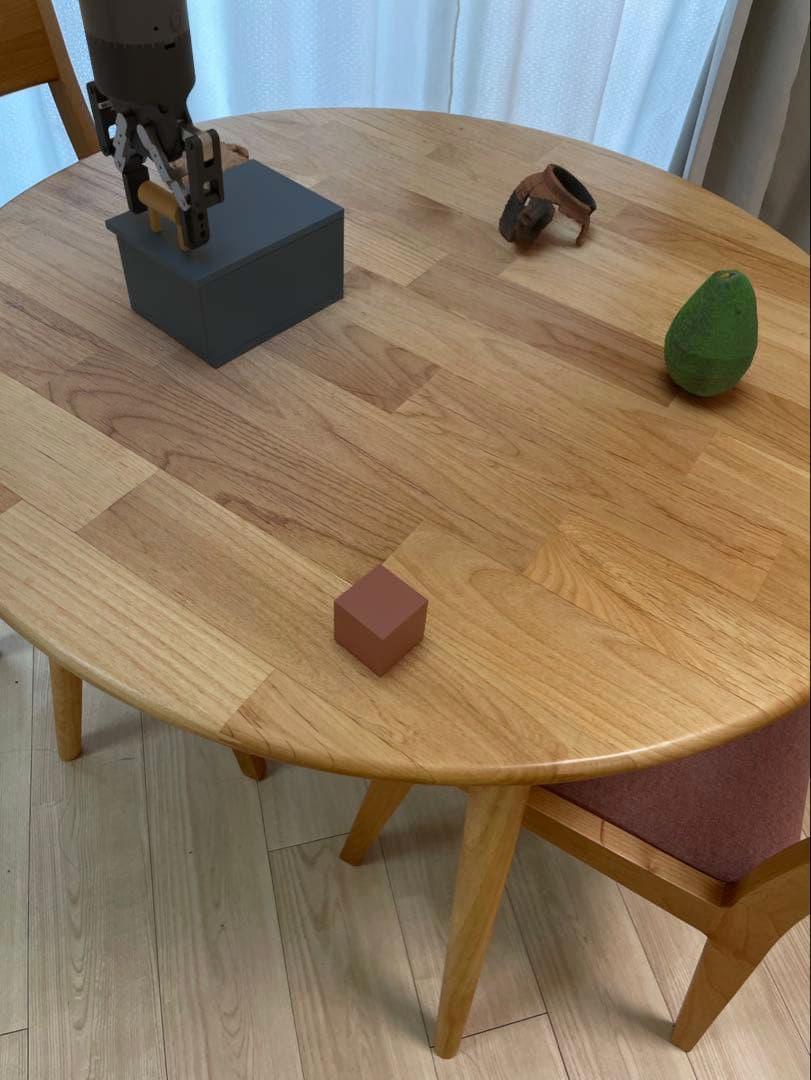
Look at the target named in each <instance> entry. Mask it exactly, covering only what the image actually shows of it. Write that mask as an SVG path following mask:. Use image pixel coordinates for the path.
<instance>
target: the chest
mask: <svg viewBox="0 0 811 1080" xmlns="http://www.w3.org/2000/svg"><path fill="white" fill-rule="evenodd" d="M115 238H116V242H117V248H118V252H119V256H120V261H121V265H122V266H121V267H122V271H123V275H124V281H125V284H126V289H127V294H128V299H129V304H130V308H131V310H132V311H134V312H135V313H137V314H138V315H139V316H141V317H142V318H144V319H145V320H147V321H148V322H149V323H151V324H152V325H153V326H155V327H156V328H158V329H159V330H161V331H162V332H163V333H165V334H166V335H168V336H169V337H171V338H172V339H174V340H175V341H176V342H177V343H179V344H180V345H182V346H183V347H185V348H186V350H187V349H188V350H189V351H190V352H192V354H195V355H196V356H197V357H199V358H200V359H201V360H202V361H204V362H206V363H207V364H209V365H210V366H211V367H213V368H214V369H218V368H220V367H222V366H223V365H225V364H227V363H229V362H230V361H233V360H234V359H236V358H238V357H239V356H241V355H243V354H245V353H247V352H248V351H250V350H252V349H254V348H255V347H257V346H259V345H261V344H263V343H264V342H266V341H268V340H269V339H272V338H273V337H275V336H277V335H279V334H280V333H283V332H284V331H286V330H287V329H290V328H291V327H293V326H295V325H296V324H298V323H300V322H302V321H304V320H305V319H307V318H309V317H311V316H312V315H315V314H316V313H318V312H319V311H321V310H323V309H325V308H327V307H329V306H330V305H332V304H334V303H336V302H338V301H339V300H341V299H343V298H344V297H345V290H344V289H345V284H344V283H345V281H344V280H345V216H343V217H341V218H339V219H337V220H335V221H333V222H331V223H329V224H327V225H325V226H323V227H321V228H319V229H317V230H315V231H313V232H311V233H309V234H307V235H305V236H303V237H301V238H299V239H297V240H295V241H293V242H291V243H289V244H287V245H285V246H283V247H281V248H279V249H277V250H275V251H273V252H271V253H269V254H267V255H264V256H262V257H260V258H258V259H256V260H254V261H252V262H250V263H248V264H246V265H244V266H242V267H240V268H238V269H236V270H234V271H232V272H230V273H228V274H226V275H224V276H222V277H220V278H218V279H216V280H214V281H212V282H210V283H208V284H206V285H204V286H202V287H200V288H196V287H194V286H193V285H191V284H190V283H188V282H187V281H185V280H184V279H182V278H181V277H179V276H178V275H176V274H175V273H173V272H172V271H170V270H169V269H167V268H165V267H164V266H162V265H161V264H159V263H158V262H156V261H155V260H153V259H152V258H150V257H149V256H147V255H146V254H144V253H143V252H141V251H140V250H138V249H137V248H135V247H134V246H132V245H131V244H129V243H128V242H126V241H125V240H123V239H122V238H120V237H118V236H117V235H115Z"/></svg>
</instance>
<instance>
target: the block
mask: <svg viewBox="0 0 811 1080" xmlns="http://www.w3.org/2000/svg"><path fill="white" fill-rule="evenodd" d="M428 606H429V599H428V598H427V597H425V596H423V595H422V594H421V593H420V592H418V591H417V590H416V589H414V588H413V587H412V586H410V585H409V584H408V583H406V582H405V581H404V580H402V579H401V578H400V577H398V576H397V575H396V574H395V573H394V572H392V571H391V570H389V569H388V568H386V567H385V566H384V565H383V564H382V563H379V564H377V565H376V566H375V567H373V568H372V569H371V570H370V571H369V572H367V573H366V574H365V575H364V576H363V577H361V578H360V579H359V580H357V581H356V582H355V583H354V584H353V585H351V586H350V587H349V588H348V589H346V590H345V591H344V592H343V593H341V594H340V595H339V596H338V597H336V598H335V599H334V600H333V639H334V640H335V641H336V642H337V643H339V644H340V645H341V646H342V647H343V648H344V649H346V650H347V651H348V652H350V653H351V655H353V656H355V658H357V659H358V660H359V661H361V662H362V663H363V664H364V665H365V666H366V667H368V668H369V669H370V670H371V671H372V672H373V673H375V675H378V677H382V676H383V675H385V673H386V672H387V671H389V670H390V669H391V668H392V667H393V666H394V665H395V664H396V663H398V662H399V661H400V660H401V659H402V658H403V657H404V656H405V655H407V653H409V652H410V651H411V650H412V649H413V648H414V647H415V646H417V644H418V643H419V642H421V641H422V640H423V639H424V636H425V629H426V622H427V614H428V608H429V607H428Z"/></svg>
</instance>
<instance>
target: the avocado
mask: <svg viewBox="0 0 811 1080" xmlns="http://www.w3.org/2000/svg"><path fill="white" fill-rule="evenodd" d="M665 333H666V334H665V337H664V346H663V357H664V364H665V368H666V370H667V372H668V374H669V376H670V379H672V381H673V383H675V384H676V385H677V386H679V387H680V388H682V389H683V390H685V391H686V392H688V393H690V394H693V395H695V396H698V397H705V398H707V397H708V398H713V397H717V396H718V395H721V394H723V393H725V392H728V391H730V390H731V389H734V388H735V387H736V386H737V384H738V383H739V382H740V381H741V379H742V378H743V377H744V375H746V373H747V372H748V370H749V369H750V367H751V366H752V364H753V361H754V359H755V355H756V351H757V349H758V342H759V341H758V339H759V318H758V304H757V297H756V292H755V289H754V287H753V285H752V283H751V280H749V278H748V277H747V275H745V274H744V273H742V272H741V271H740V270H737V269H726V270H725V269H724V270H716V271H714V272H713V273H712V274H711V275H710V276H709V277H708V278H707V279H705V281H704V282H703V283H702V284H701V285H700V286H699V287H698V289H696V290H695V292H693V293H692V295H691V296H690V297H689V298H688V299H687V301H686V302H685V303H684V304H683V305H682V307H680V309H679V310H678V311H677V313H676V315H675V316H674V317H673V320H672V322H671V324H670V326H669V328H668V329H667V331H666V332H665Z"/></svg>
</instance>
